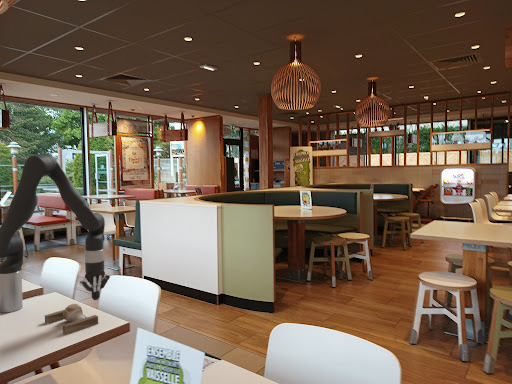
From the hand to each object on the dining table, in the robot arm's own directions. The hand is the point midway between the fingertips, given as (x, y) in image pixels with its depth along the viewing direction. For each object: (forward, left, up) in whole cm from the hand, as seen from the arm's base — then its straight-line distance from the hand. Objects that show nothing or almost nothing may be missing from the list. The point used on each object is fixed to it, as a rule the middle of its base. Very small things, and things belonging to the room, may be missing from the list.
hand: (95, 299), depth 158 cm
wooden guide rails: (0, -10, -7) cm, 13 cm away
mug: (0, -8, -7) cm, 11 cm away
